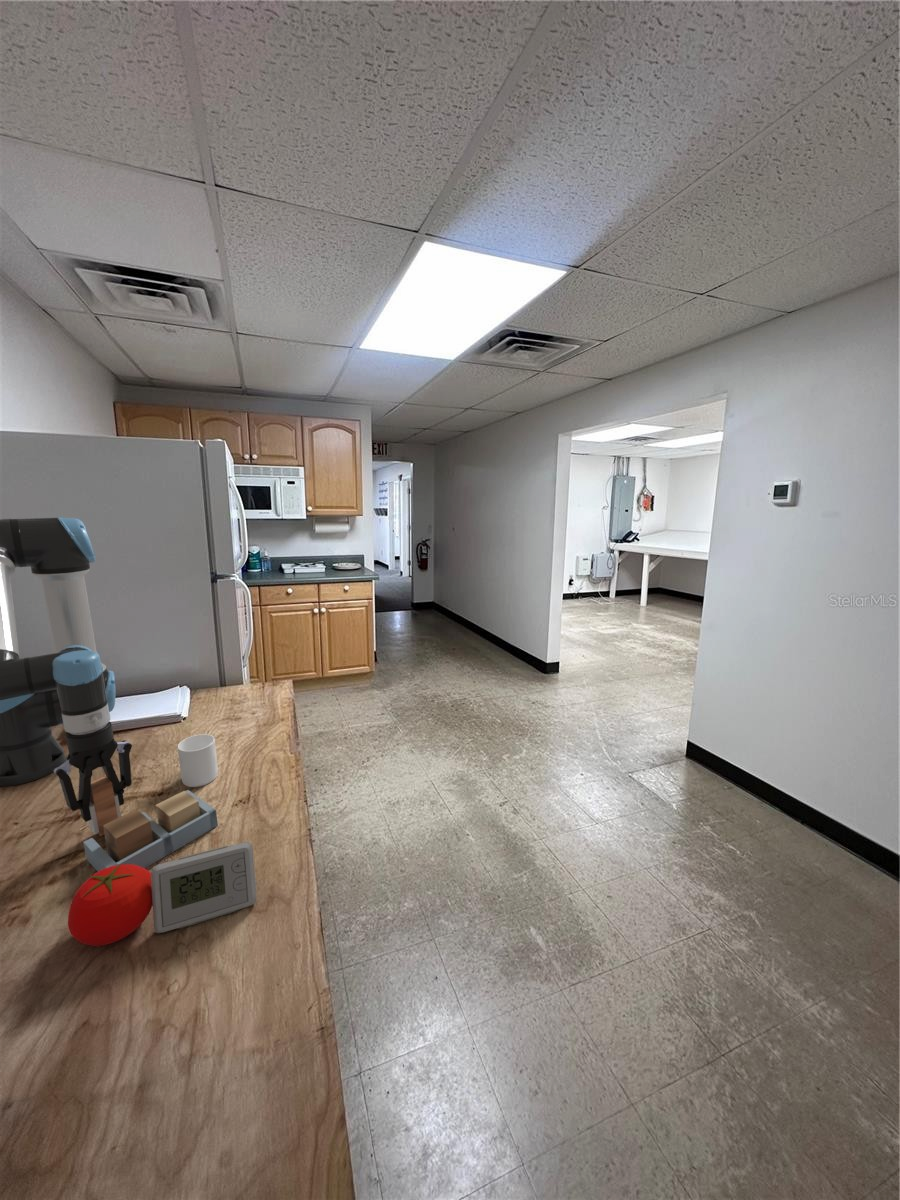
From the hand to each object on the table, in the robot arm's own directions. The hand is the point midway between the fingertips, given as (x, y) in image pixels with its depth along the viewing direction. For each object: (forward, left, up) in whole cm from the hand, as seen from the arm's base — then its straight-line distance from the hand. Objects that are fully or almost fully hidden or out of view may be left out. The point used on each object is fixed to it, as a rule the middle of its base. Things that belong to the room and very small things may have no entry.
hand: (106, 824), depth 101 cm
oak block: (+12, +9, -2) cm, 16 cm away
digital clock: (+36, +2, -2) cm, 36 cm away
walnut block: (+7, 0, -1) cm, 7 cm away
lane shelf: (+11, +5, -2) cm, 12 cm away
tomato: (+27, -8, -2) cm, 29 cm away
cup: (-5, +23, -2) cm, 23 cm away
